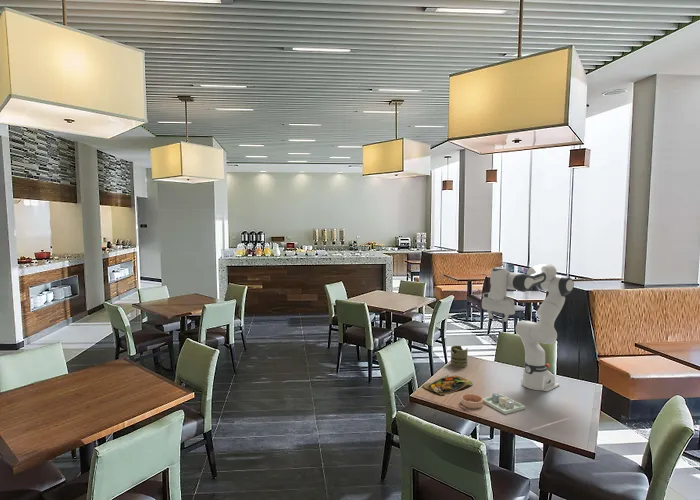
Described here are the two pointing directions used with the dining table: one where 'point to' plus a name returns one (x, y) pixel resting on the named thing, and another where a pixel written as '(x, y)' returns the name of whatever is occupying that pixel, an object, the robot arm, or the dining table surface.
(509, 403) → the pebble grey
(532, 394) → the dining table surface
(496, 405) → the parts tray
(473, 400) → the bowl
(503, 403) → the pebble sand
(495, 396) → the pebble slate
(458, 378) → the prepared meal
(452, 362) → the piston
